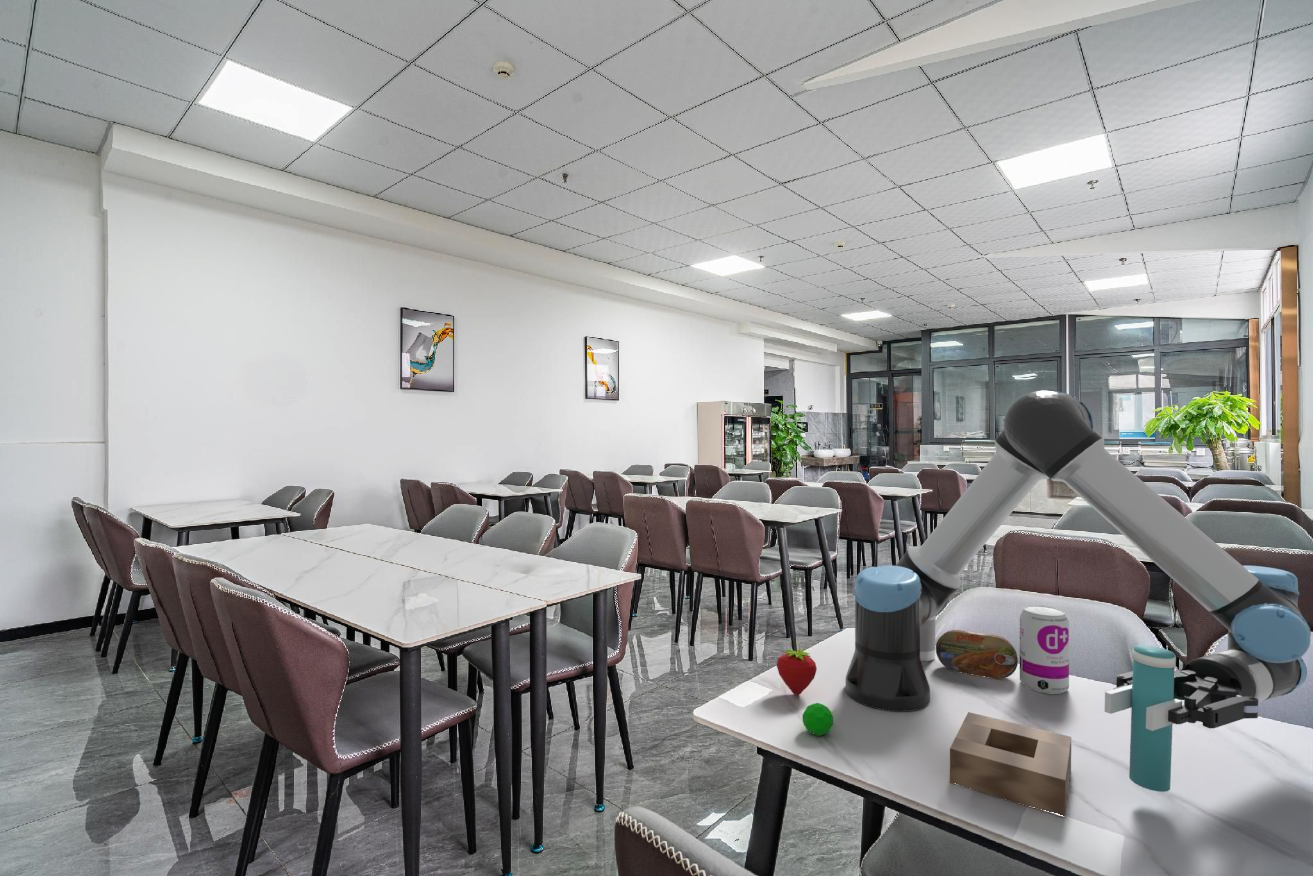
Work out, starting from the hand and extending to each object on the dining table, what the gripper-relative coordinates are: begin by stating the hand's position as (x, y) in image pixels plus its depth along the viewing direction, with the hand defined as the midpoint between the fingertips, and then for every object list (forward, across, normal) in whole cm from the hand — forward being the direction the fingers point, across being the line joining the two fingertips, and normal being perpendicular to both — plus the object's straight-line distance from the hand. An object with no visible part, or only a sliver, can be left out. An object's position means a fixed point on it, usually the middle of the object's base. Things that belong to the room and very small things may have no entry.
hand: (1128, 710), depth 84 cm
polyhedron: (+23, +35, -15) cm, 44 cm away
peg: (-5, 0, -11) cm, 12 cm away
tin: (-23, +41, -15) cm, 50 cm away
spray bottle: (-20, +53, -15) cm, 59 cm away
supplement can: (-29, +31, -14) cm, 45 cm away
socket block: (+5, +12, -14) cm, 20 cm away
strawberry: (+17, +48, -15) cm, 53 cm away
